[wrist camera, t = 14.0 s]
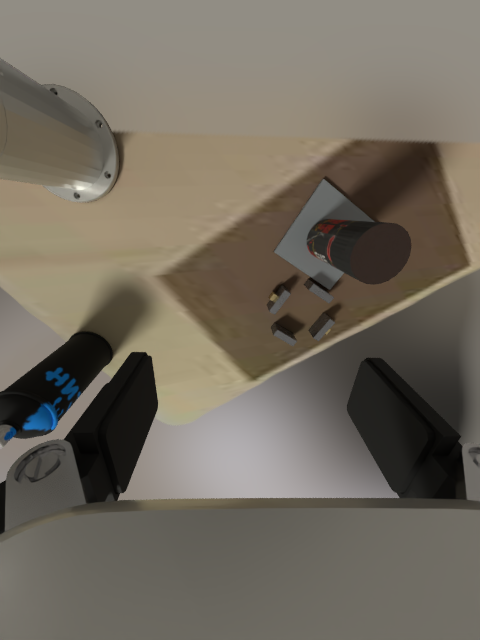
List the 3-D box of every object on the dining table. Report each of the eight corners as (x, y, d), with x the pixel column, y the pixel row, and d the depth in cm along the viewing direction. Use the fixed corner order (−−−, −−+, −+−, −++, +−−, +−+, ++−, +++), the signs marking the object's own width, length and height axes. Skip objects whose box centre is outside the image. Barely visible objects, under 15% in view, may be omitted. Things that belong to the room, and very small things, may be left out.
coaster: (273, 251, 37) (274, 251, 37) (322, 179, 33) (323, 178, 33) (328, 289, 40) (329, 290, 40) (379, 227, 36) (381, 227, 36)
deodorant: (351, 231, 36) (424, 242, 22) (328, 265, 38) (381, 294, 24) (321, 211, 34) (379, 210, 21) (299, 247, 37) (337, 267, 23)
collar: (252, 316, 42) (253, 323, 40) (288, 265, 38) (293, 269, 36) (305, 347, 45) (310, 356, 43) (344, 303, 42) (352, 309, 39)
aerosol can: (77, 368, 46) (-24, 468, 28) (61, 332, 43) (-66, 420, 25) (118, 366, 46) (43, 465, 28) (106, 329, 43) (11, 416, 25)
